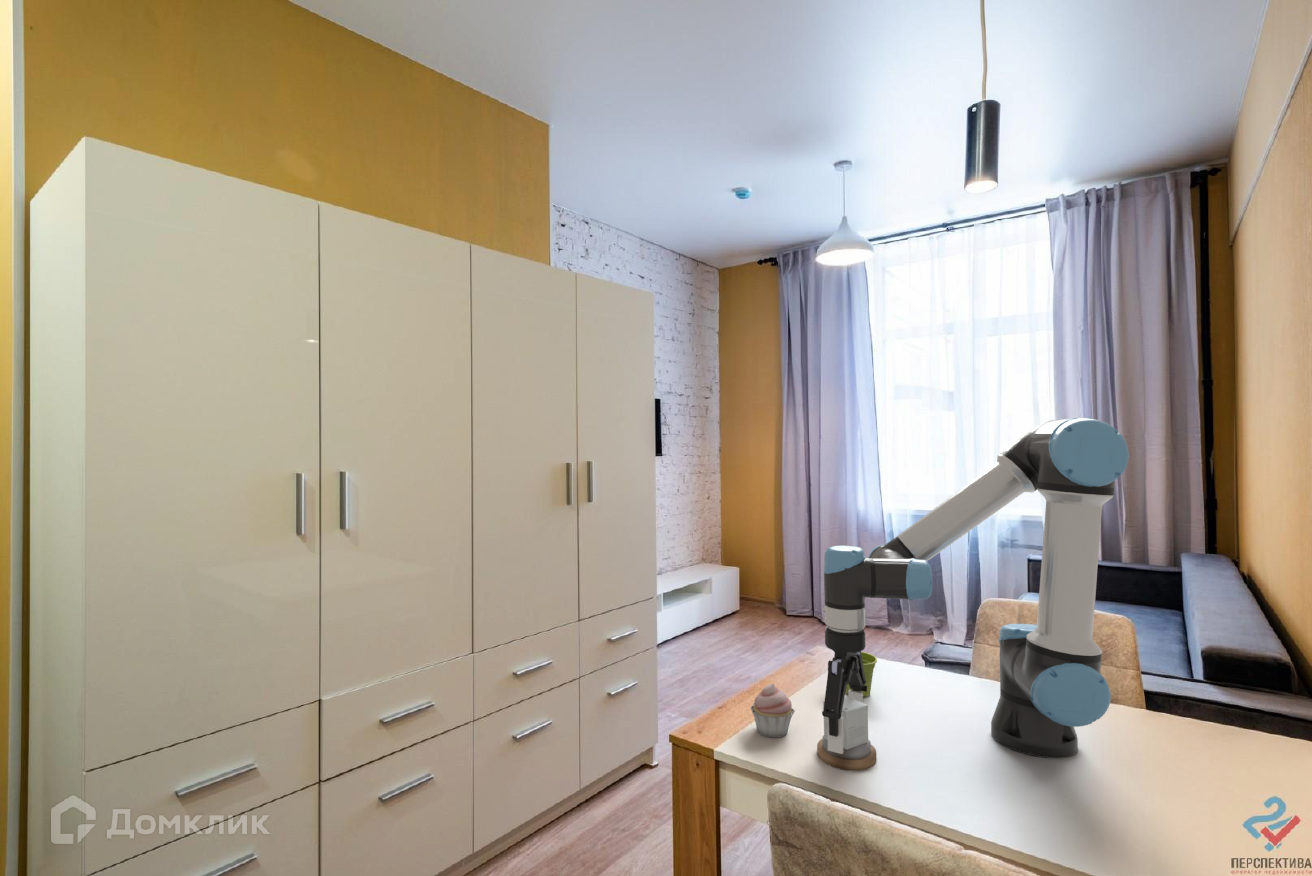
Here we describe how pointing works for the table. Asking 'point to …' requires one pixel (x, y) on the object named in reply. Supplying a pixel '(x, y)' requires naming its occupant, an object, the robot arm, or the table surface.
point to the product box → (852, 723)
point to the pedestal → (848, 756)
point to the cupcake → (772, 712)
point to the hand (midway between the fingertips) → (846, 737)
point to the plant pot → (866, 671)
